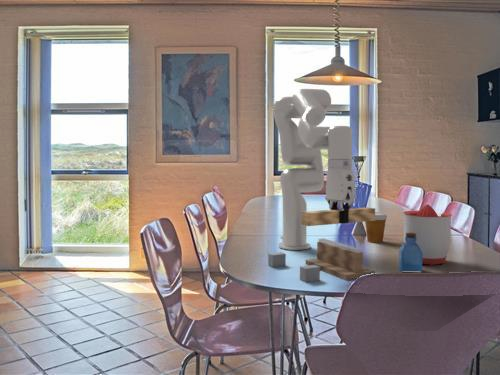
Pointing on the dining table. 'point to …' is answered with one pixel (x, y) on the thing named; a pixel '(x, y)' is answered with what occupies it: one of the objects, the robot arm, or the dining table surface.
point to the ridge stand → (339, 260)
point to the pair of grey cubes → (306, 272)
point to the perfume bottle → (410, 254)
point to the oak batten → (336, 216)
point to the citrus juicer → (429, 233)
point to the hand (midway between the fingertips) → (339, 221)
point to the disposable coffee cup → (376, 228)
